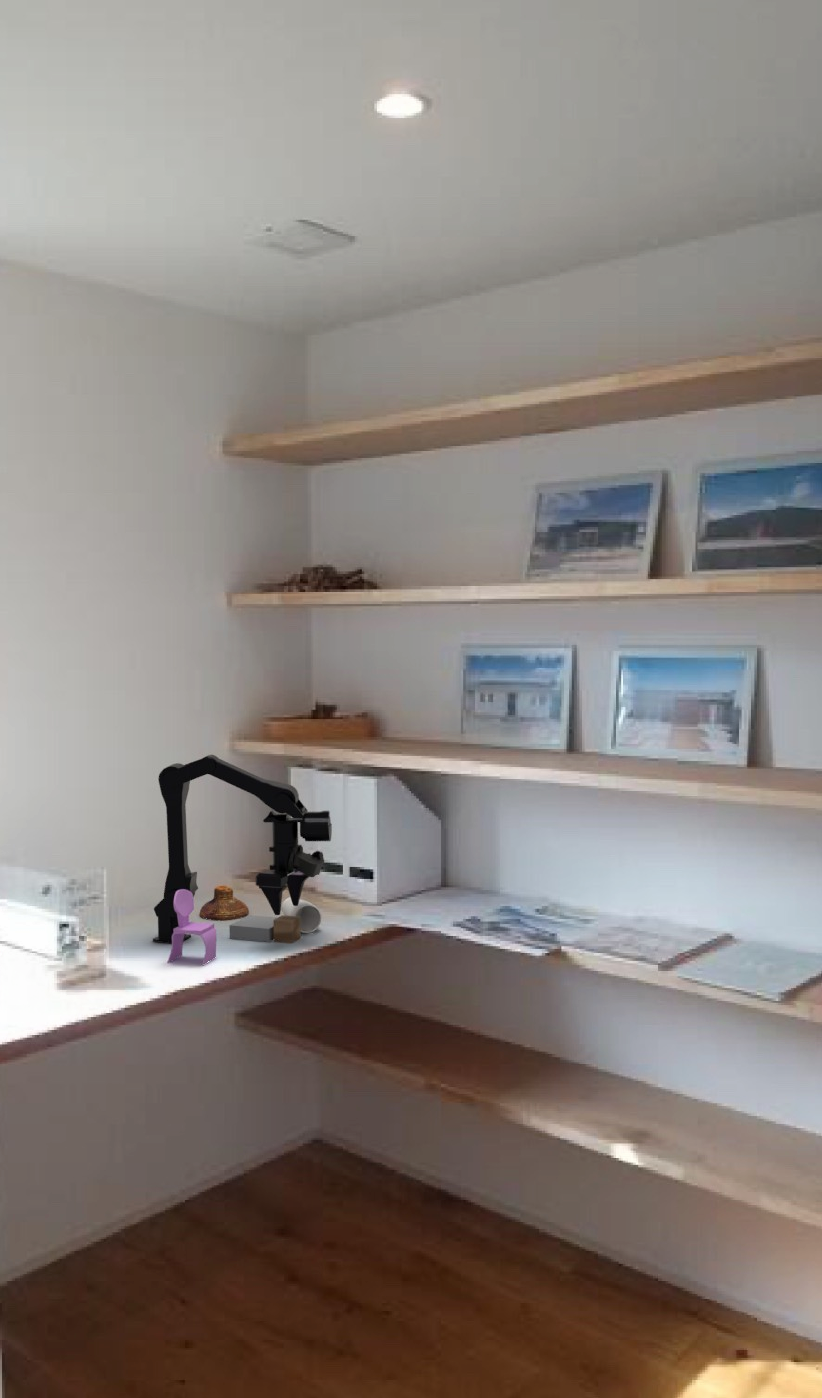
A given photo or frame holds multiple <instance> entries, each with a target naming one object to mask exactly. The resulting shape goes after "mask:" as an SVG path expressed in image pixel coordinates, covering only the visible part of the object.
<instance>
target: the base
mask: <svg viewBox="0 0 822 1398" xmlns="http://www.w3.org/2000/svg"><path fill="white" fill-rule="evenodd" d="M278 917H279V916H278ZM278 917H277V916H267V915H253V914H248V915H247V916H245V917H242V918H240V919H239V920H237V921H235V922H233V923H231V924H230V925H229V930H228V931H229V939H233V940H242V941H255V942H264V941H267V943H270V942H272V941H274V922H273V920H274V919H276V918H278Z"/></svg>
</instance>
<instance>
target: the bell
mask: <svg viewBox="0 0 822 1398" xmlns="http://www.w3.org/2000/svg"><path fill="white" fill-rule="evenodd" d="M213 890H214V891H213V898H211V900H208V901H207V902H205V903H204V904H203V905H202V906H201V908H200V910H199V916H200V917H201V916H202V917H204V918H207V919H206V920H208V919H211V920H210V921H218V920H220V921H232V920H231V919H234V920H237V919H236V918H238V919H242V918H245V917H247V916H249V913H250V910H249V907H248V906H247V905H246V903H245V902H244V901H242V900H240V899H238V898H237V897H234V890H233V888H232V887H229V886H227V885H225V884H222V885H221V884H220V885H217V886H215V888H214V889H213ZM244 916H245V917H244ZM202 917H201V918H202ZM241 917H242V918H241ZM204 918H203V919H204Z"/></svg>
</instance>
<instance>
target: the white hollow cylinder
mask: <svg viewBox="0 0 822 1398" xmlns="http://www.w3.org/2000/svg"><path fill="white" fill-rule="evenodd" d="M281 911H282V913H283V915H285V916H297V917H300V932H301V933H303V934H312V933H313V932H315V931H316V930H318V928H319V927H320V925H321V923H322V913H321V911H320V909H319V908H318V907H317V906H316V905H315V904H314V903H311V902H309V901H307V900H305V899H302V898H300V900H299V904H298V906H293V904H292V901H291V897H290V896H289V897H287V898H286V899H285V900H284V901H283V902H282V903H281Z"/></svg>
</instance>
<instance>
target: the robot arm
mask: <svg viewBox="0 0 822 1398" xmlns="http://www.w3.org/2000/svg"><path fill="white" fill-rule="evenodd" d="M206 775H210V776H212V777H214V778H217V779H219V780H221V781H222V782H225V783H227V784H229V785H232V786H234V787H235V788H238V789H240V790H243V791H244V792H247V793H249V794H252V795H253V796H255V797H256V798H257V799H259V800H260V801H261V802H262V803H263V804H264V805H266V806H268V807H269V808H271V810H270V811H269V812H268V814H267V816H266V817H265V818H264V819H262V820H263V821H262V822H263V823H272V825H271V826H272V829H271V830H272V846H269V847H268V849H269V850H268V851H269V852H271V853H272V864H269V869H266V870H262V871H261V872H258V874H257V875H256V876H255V878H254V879H255V886H256V887H258V888H259V889H260V890H261V891H262V893H263V895H264V896H265V898H266V899H267V901H268V903H269V906H270V907H271V909H272V911H273V913H274V915H275V916H281V911H282V903H283V902H282V901H283V900H282V899H283V892H284V891H285V890H287V889H288V892H289V897H291V901H292V904H293V906H298V904H299V900H300V899H301V895H302V892H303V888H304V884H305V882H306V881H307V880H308V879H310V878H314V877H316V876H317V875H320V874H321V871H322V868H323V867H324V866H326V865H325V858H324V853H323V852H322V851H320V850H315V851H314V852H313V853H312V854H311V853H310V852H309V853H307V852H305V851H303V850H304V847H303V846H302V844H299V837H300V838H302V839H304V841H305V842H331V840H332V828H333V827H332V822H331V814H330V813H331V812H330V810H321V811H308V809H307V807H305V805H304V804H303V802H302V801H301V799H300V797H299V792H298V790H297V788H296V787H295V786H293V785H291V784H289V783H288V784H287V783H284V782H279V781H275V780H270V779H266V778H262V777H260V776H258V775H255V774H254V773H251V772H250V771H247V770H245V769H242V768H240V767H239V766H236V765H234V764H232V763H229V762H227V761H225V760H223V759H220V758H219V757H218V756H216V755H214V754H208V755H206V756H204V757H202V758H200V759H197V760H193V761H191V762H189V763H186V764H182V763H179V762H178V763H173V764H170V765H168V766H166V767H165V768H163V769H162V770H161V771H160V772H159V774H158V777H157V778H158V785H159V789H160V793H161V796H162V799H163V802H164V804H165V807H166V829H167V830H166V831H167V832H166V833H167V850H168V851H167V853H168V855H167V856H168V870H167V874H166V878H165V879H166V880H165V884H164V890H163V898H162V899H161V900H160V901H159V902H158V903H157V904H156V905H155V906H154V908H153V910H154V913H155V916H156V917H157V931H158V932H157V934H158V936H155V937H154V938H152V942H156V943H157V942H158V943H168V944H172V934H173V933H174V928H176V927H179V924H178V917H177V913H176V912H175V910H174V896H175V893H176V891H178V890H181V889H185V890H188V891H190V892H191V893H192V894H193V898H194V897H195V895H196V892H197V890H199V886H198V885H197V884H198V883H197V876H198V872H197V871H191V869H190V867H189V859H188V857H189V856H188V836H187V835H188V833H187V831H188V830H187V812H186V811H187V809H186V803H187V802H186V801H187V798H188V794H189V790H190V783H191V781H194V780H195V779H199V778H201V777H204V776H206ZM274 811H275V812H276V813H275V812H274ZM191 937H192V934H185V935H184V939H183V941H185V940H187V939H189V938H191Z"/></svg>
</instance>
